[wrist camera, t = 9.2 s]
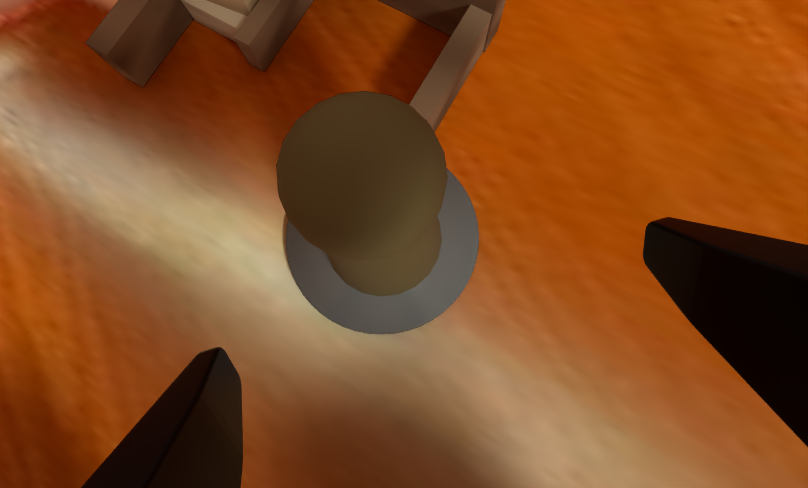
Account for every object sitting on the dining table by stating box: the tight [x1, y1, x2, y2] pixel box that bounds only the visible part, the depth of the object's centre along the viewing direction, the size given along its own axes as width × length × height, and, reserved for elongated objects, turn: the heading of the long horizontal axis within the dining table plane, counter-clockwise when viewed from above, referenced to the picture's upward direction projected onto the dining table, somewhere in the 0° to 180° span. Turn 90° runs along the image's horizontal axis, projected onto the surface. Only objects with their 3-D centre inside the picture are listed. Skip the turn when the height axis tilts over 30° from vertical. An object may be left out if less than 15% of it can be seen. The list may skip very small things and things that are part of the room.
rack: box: [86, 0, 506, 132], centre depth 23 cm, size 13×17×5 cm
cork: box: [276, 91, 448, 297], centre depth 17 cm, size 6×6×11 cm
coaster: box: [286, 168, 479, 334], centre depth 23 cm, size 10×10×1 cm
